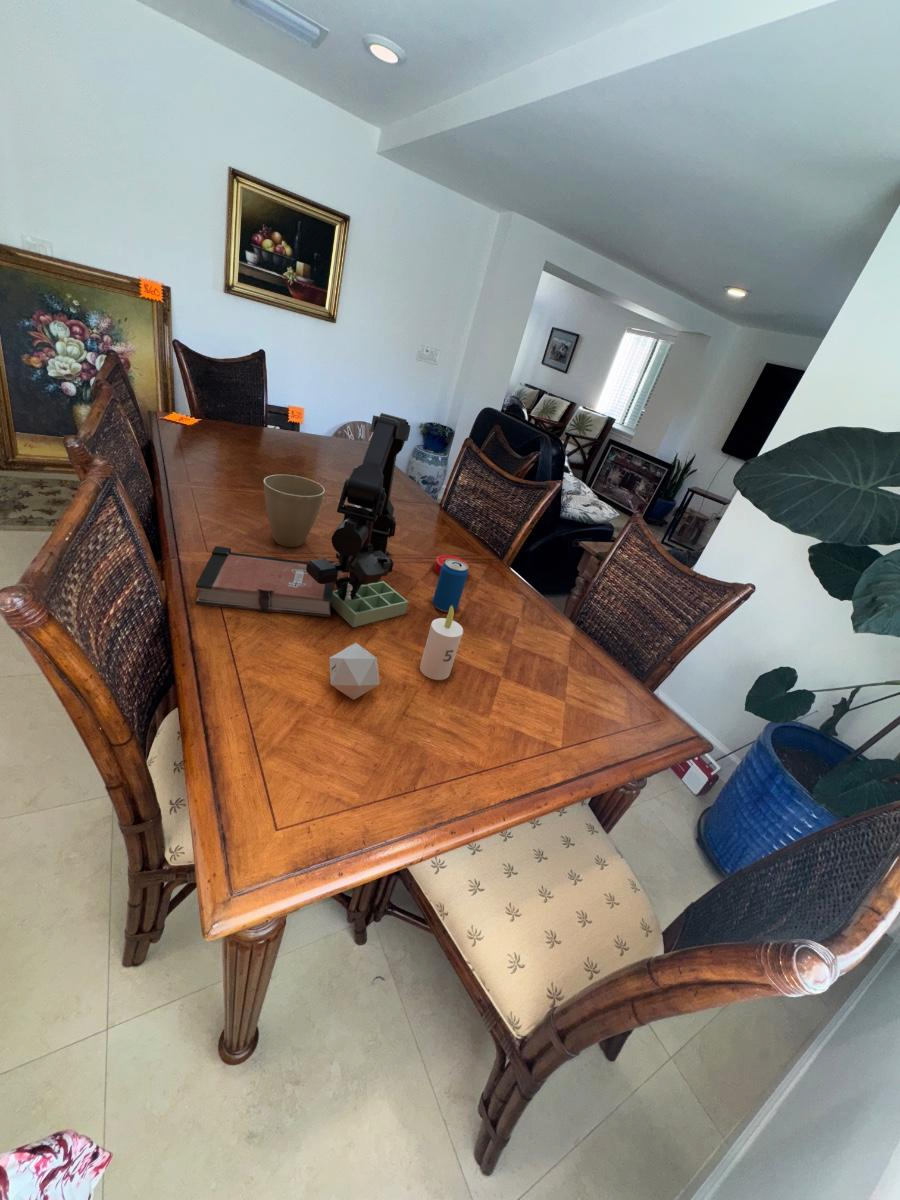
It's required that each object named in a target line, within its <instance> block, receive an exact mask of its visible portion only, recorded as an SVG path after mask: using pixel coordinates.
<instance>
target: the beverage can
mask: <svg viewBox="0 0 900 1200" xmlns="http://www.w3.org/2000/svg"><path fill="white" fill-rule="evenodd" d="M468 566H469V565H468ZM468 566H467V565H466V564H465V563H464V562H462V561H460V560H456V559H447V560H446V561H445V563H444V564H443V565H442V568H441V571H440V575H438V579H437V583H436V587H435V590H434V595H433V597H432V598H433V599H432V604H433V606H434V607H435V608H436V609H437V610H439V611H440V612H444V613H448V612H449V609H450V606H451V605H452V606H453V610H454V612H455V611H456V610H458V608H459V605H460V602H461V598H462V595H463V591H464V588H465V586H466V585H465V584H466V581H467V577H468V574H469V569H468V570H467V568H468Z"/></svg>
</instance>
